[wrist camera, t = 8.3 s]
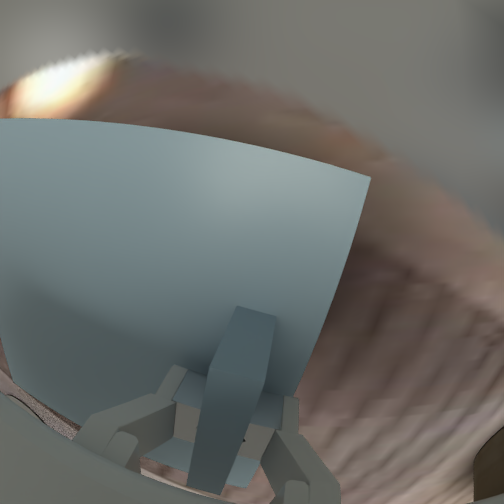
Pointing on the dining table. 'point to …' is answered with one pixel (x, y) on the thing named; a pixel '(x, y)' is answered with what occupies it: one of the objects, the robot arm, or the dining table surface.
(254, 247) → the lid
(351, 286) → the dining table surface
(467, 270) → the dining table surface
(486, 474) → the plant pot
